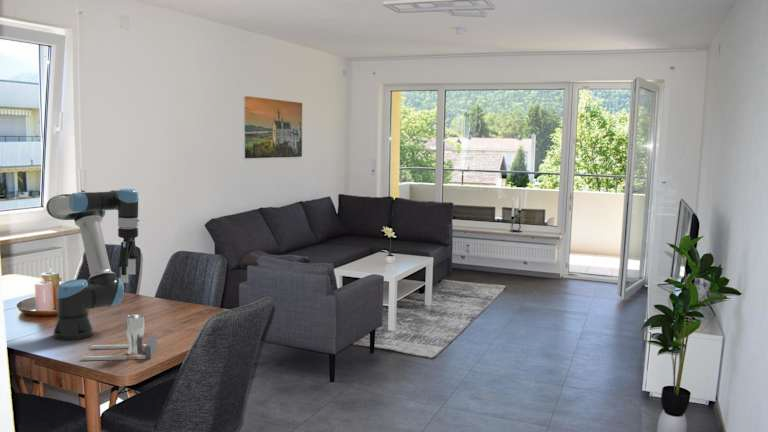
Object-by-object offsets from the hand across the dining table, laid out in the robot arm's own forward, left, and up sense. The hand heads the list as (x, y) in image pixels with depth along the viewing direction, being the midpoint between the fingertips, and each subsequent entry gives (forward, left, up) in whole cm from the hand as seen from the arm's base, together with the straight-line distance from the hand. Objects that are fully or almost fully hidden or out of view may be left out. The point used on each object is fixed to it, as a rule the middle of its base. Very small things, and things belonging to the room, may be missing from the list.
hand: (128, 278), depth 261 cm
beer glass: (+5, -11, -28) cm, 31 cm away
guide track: (-1, -11, -28) cm, 30 cm away
